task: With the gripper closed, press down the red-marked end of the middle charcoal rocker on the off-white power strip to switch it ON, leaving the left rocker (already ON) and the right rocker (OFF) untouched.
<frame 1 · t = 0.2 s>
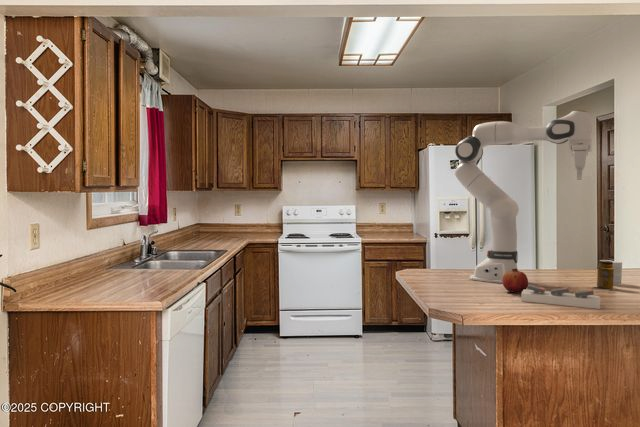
hand: (579, 179, 211), 48 cm above the counter, fingers open, 8 cm apart
condiment: (603, 289, 208), on the counter
rocker middle: (559, 290, 179), point 5 cm above the counter, hinge at -12.0°
fruit: (514, 293, 199), on the counter
rocker left: (536, 288, 183), point 5 cm above the counter, hinge at 12.0°
small box: (609, 284, 219), on the counter
power strip: (559, 302, 180), on the counter
rocker right: (584, 292, 176), point 5 cm above the counter, hinge at -12.0°
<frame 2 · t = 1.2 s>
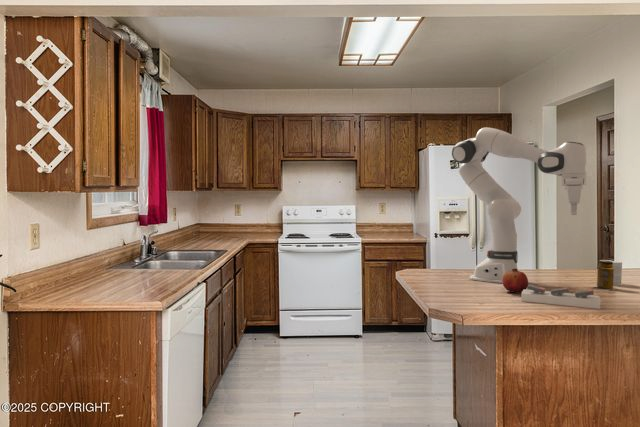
hand: (573, 214, 197), 32 cm above the counter, fingers open, 8 cm apart
nothing on the counter moved.
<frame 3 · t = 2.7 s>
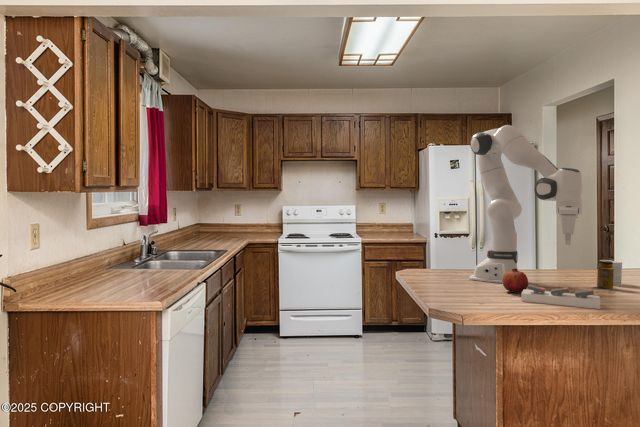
hand: (567, 244, 187), 21 cm above the counter, fingers closed
nothing on the counter moved.
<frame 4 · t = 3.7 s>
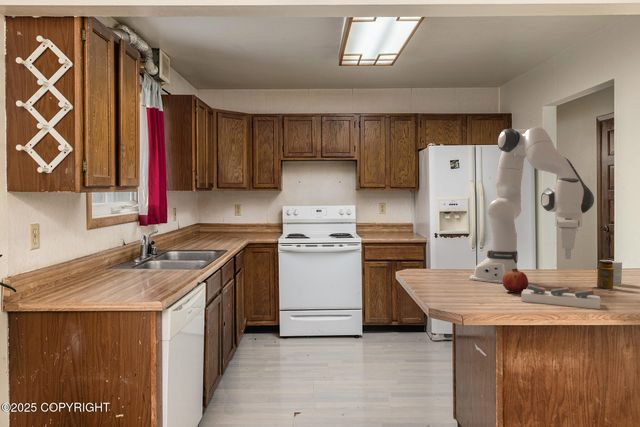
hand: (568, 258, 178), 17 cm above the counter, fingers closed
nothing on the counter moved.
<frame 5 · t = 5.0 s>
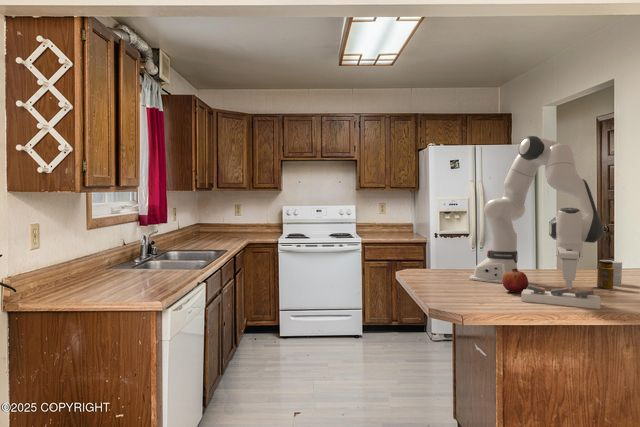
hand: (568, 288, 178), 6 cm above the counter, fingers closed, pressing on rocker middle
rocker middle: (559, 290, 179), point 5 cm above the counter, hinge at -11.3°, touching gripper
everything else where it was.
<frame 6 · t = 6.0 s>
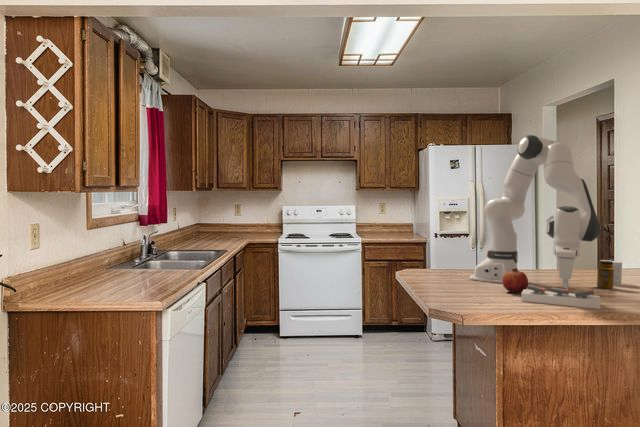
hand: (565, 287, 178), 6 cm above the counter, fingers closed
rocker middle: (559, 290, 179), point 5 cm above the counter, hinge at 5.3°
everything else where it was.
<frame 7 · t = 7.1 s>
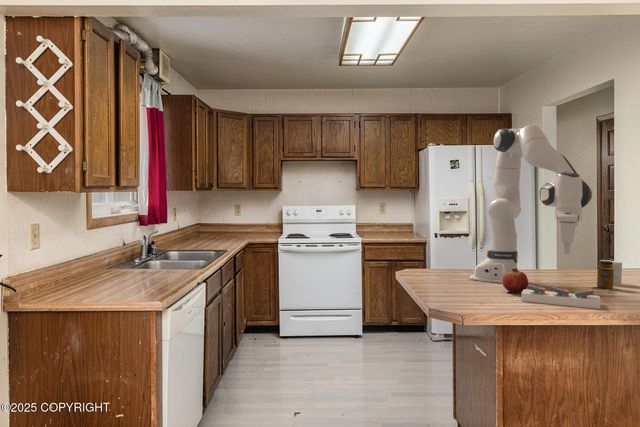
hand: (567, 253, 178), 19 cm above the counter, fingers closed
rocker middle: (559, 290, 179), point 5 cm above the counter, hinge at 13.2°
everything else where it was.
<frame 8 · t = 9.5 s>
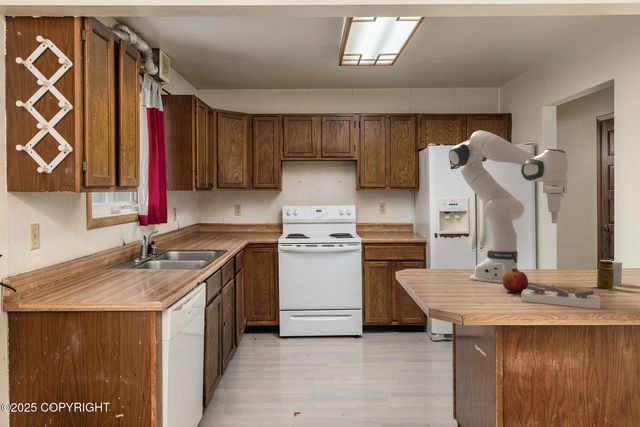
hand: (554, 223, 194), 29 cm above the counter, fingers closed
rocker middle: (560, 290, 179), point 5 cm above the counter, hinge at 21.3°, touching power strip
everything else where it was.
at the end: rocker middle at +21° (first picture: -12°); rocker left at +12° (first picture: +12°); rocker right at -12° (first picture: -12°) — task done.
